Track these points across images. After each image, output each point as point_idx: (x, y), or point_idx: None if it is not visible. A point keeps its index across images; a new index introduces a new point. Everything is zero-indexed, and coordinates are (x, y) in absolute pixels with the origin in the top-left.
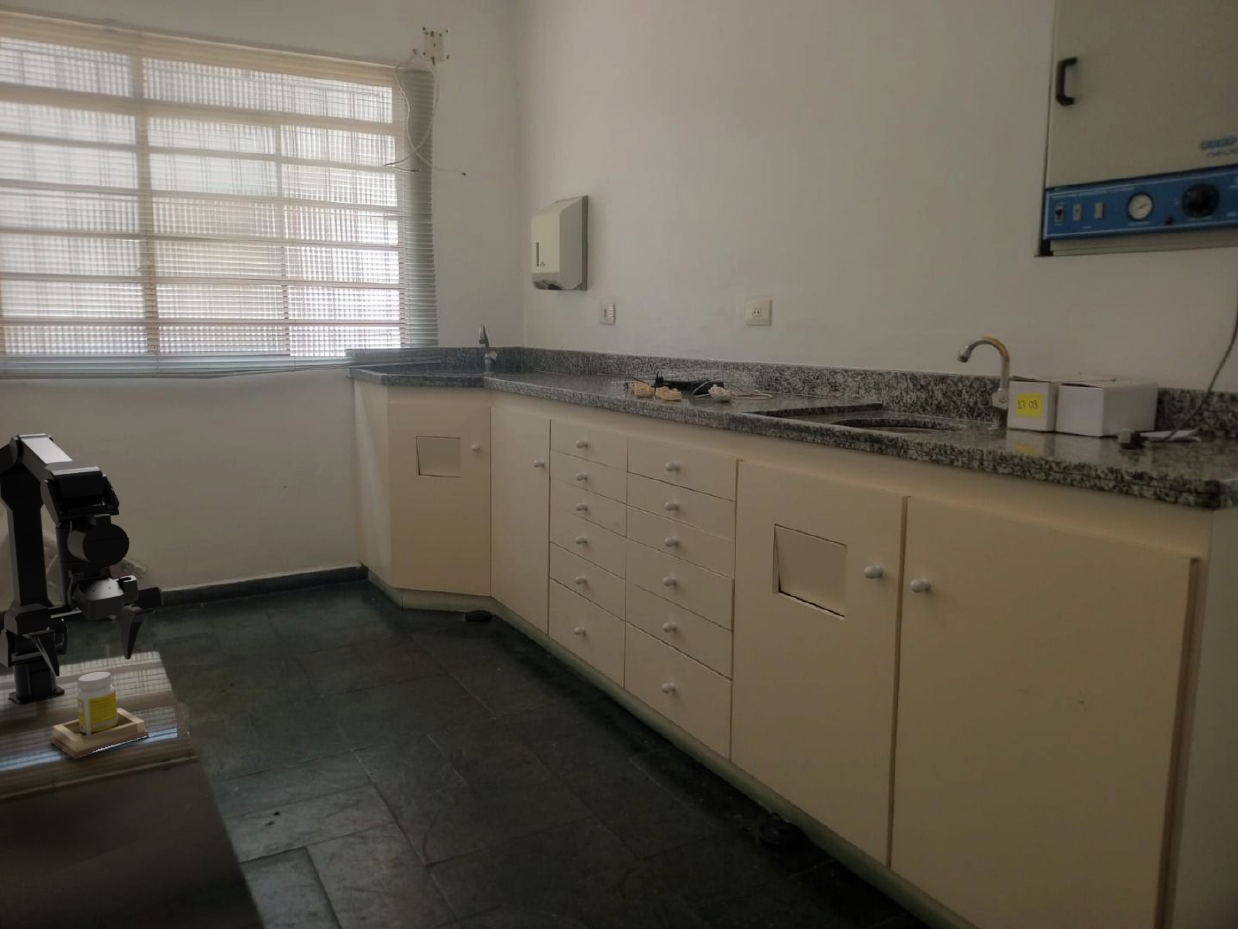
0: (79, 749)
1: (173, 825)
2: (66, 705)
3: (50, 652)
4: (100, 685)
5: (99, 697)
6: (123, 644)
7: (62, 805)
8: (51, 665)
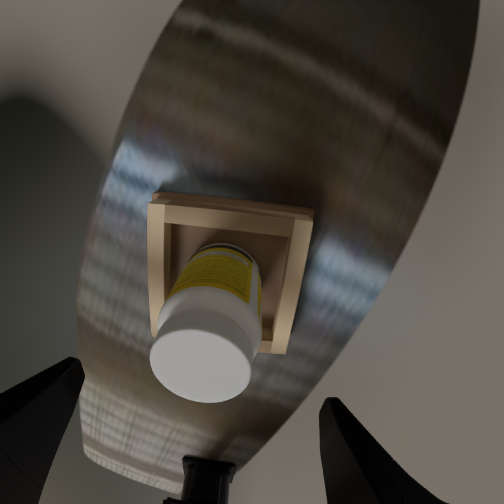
0: (301, 215)
1: None
2: (195, 434)
3: (390, 474)
4: (204, 314)
5: (219, 288)
6: (63, 416)
7: (415, 33)
8: (365, 431)
